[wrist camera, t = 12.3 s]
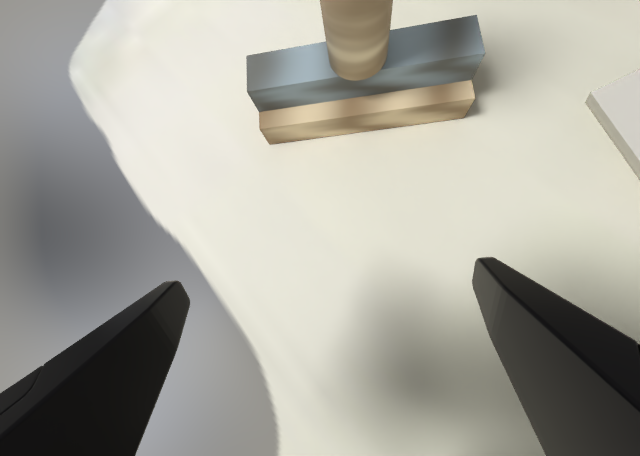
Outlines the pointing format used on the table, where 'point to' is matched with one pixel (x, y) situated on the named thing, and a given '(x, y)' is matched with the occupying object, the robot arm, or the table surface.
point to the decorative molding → (620, 115)
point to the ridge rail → (368, 114)
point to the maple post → (357, 36)
